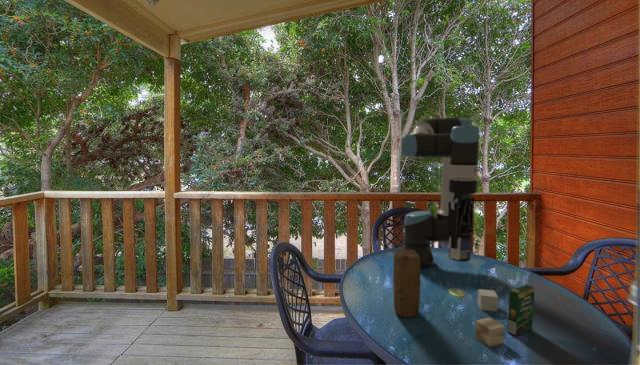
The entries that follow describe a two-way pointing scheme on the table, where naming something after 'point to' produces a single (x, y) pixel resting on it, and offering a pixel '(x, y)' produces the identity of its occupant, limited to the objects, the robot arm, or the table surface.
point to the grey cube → (487, 300)
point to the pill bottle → (464, 243)
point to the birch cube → (489, 332)
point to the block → (406, 282)
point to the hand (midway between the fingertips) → (459, 255)
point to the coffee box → (521, 310)
